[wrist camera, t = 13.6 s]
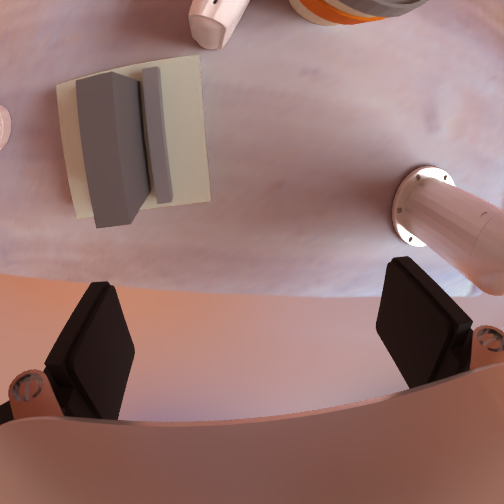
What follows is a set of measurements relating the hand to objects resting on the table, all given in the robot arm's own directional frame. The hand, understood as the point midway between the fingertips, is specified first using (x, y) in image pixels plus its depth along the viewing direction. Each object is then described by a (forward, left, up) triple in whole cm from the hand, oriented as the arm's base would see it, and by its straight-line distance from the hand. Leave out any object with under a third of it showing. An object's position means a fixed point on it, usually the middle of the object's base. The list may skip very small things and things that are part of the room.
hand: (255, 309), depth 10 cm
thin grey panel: (+9, -4, -25) cm, 27 cm away
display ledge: (+9, -4, -29) cm, 31 cm away
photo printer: (-2, -18, -29) cm, 34 cm away
